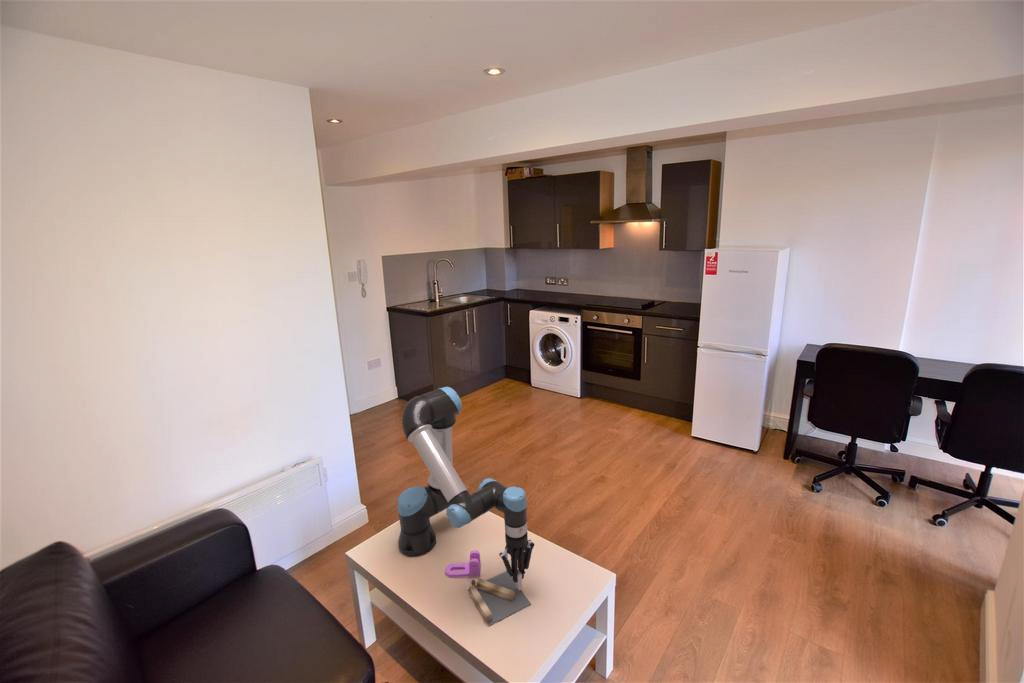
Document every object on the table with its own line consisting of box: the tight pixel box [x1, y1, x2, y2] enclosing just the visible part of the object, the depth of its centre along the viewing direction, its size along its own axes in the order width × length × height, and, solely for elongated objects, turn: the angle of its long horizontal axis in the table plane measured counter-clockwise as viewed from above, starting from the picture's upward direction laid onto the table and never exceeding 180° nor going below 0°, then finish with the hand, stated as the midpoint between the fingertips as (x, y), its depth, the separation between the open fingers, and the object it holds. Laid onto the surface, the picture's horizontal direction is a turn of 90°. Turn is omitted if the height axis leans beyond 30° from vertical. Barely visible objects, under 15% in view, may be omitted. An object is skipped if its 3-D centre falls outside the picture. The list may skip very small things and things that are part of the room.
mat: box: [467, 570, 532, 627], centre depth 159 cm, size 17×16×1 cm
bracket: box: [444, 549, 482, 579], centre depth 170 cm, size 13×6×7 cm, turn 91°
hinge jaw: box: [476, 578, 515, 601], centre depth 160 cm, size 14×2×2 cm, turn 64°
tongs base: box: [468, 579, 492, 623], centre depth 155 cm, size 16×3×3 cm, turn 29°
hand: (518, 586), depth 160 cm, fingers closed
